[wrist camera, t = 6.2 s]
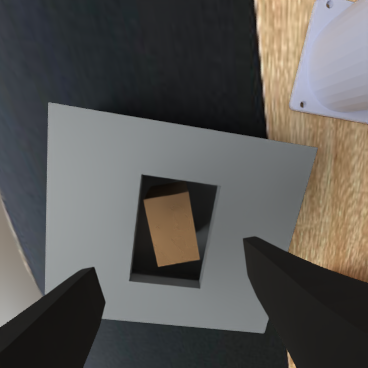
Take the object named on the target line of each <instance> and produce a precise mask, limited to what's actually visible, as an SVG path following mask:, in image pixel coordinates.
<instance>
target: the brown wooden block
mask: <svg viewBox="0 0 368 368" xmlns="http://www.w3.org/2000/svg"><path fill="white" fill-rule="evenodd" d="M143 201H144V205H145V210H146V215H147V219H148V224H149V228H150V233H151V237H152V242H153V246H154V251H155V255H156V260H157V264H158V267H160V266H165V265H171V264H177V263H182V262H188V261H194V260H199V259H200V258H199V252H198V246H197V240H196V234H195V228H194V222H193V216H192V210H191V204H190V198H189V192H188V188H187V185H186V181H179V182H173V183H167V184H162V185H156V186H151V187H150V188H149V190H148V192H147V194H146V196H145V198H144V199H143Z"/></svg>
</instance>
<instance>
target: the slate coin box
mask: <svg viewBox="0 0 368 368" xmlns="http://www.w3.org/2000/svg"><path fill="white" fill-rule="evenodd" d="M317 149H318V148H316V147H310V146H304V145H298V144H292V143H286V142H280V141H275V140H269V139H263V138H257V137H251V136H245V135H239V134H233V133H227V132H221V131H215V130H209V129H203V128H197V127H191V126H185V125H179V124H173V123H167V122H162V121H156V120H150V119H144V118H138V117H132V116H126V115H120V114H114V113H108V112H102V111H96V110H90V109H84V108H78V107H72V106H66V105H60V104H54V103H49V102H48V157H47V212H46V268H45V295H46V294H47V293H49V292H50V291H51V290H53V289H54V288H55V287H57V286H58V285H59V284H61V283H62V282H63V281H65V280H66V279H67V278H69V277H70V276H72V275H73V274H75V273H76V272H78V271H79V270H81V269H84V268H90V267H95V270H96V273H97V276H98V280H99V283H100V286H101V289H102V292H103V295H104V298H105V302H106V304H105V308H104V312H103V316H102V319H112V320H123V321H135V322H146V323H157V324H168V325H179V326H190V327H201V328H213V329H224V330H235V331H246V332H257V333H264V332H265V329H266V325H267V322H268V318H269V317H268V316H267V314H266V312H265V310H264V309H263V307H262V305H261V303H260V302H259V300H258V298H257V296H256V294H255V292H254V290H253V287H252V285H251V283H250V280H249V278H248V276H247V268H246V261H245V253H244V245H243V238H247V237H253V236H256V237H259V238H261V239H263V240H265V241H267V242H269V243H271V244H273V245H275V246H277V247H279V248H281V249H283V250H285V251H287V252H288V249H289V246H290V242H291V239H292V235H293V232H294V229H295V225H296V222H297V218H298V215H299V211H300V208H301V204H302V201H303V197H304V194H305V191H306V187H307V184H308V180H309V177H310V173H311V170H312V166H313V163H314V160H315V156H316V153H317ZM179 181H186V185H187V188H188V192H189V198H190V204H191V210H192V216H193V222H194V228H195V234H196V240H197V246H198V252H199V258H200V259H199V260H194V261H188V262H182V263H177V264H171V265H165V266H160V267H158V264H157V260H156V255H155V251H154V246H153V242H152V237H151V233H150V228H149V224H148V219H147V215H146V210H145V205H144V201H143V199H144V198H145V196H146V194H147V192H148V190H149V188H150V187H151V186H156V185H162V184H167V183H173V182H179Z"/></svg>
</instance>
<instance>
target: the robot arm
mask: <svg viewBox="0 0 368 368" xmlns="http://www.w3.org/2000/svg"><path fill="white" fill-rule="evenodd" d="M326 4H328V5H329V8H327V6H326ZM301 102H302V103H303V108H302V107H301V106H300V103H301ZM289 107H290V109H291V110H293V111H299V112H304V113H310V114H315V115H321V116H326V117H332V118H337V119H343V120H348V121H354V122H359V123H365V124H368V0H357V1H356V2H351V1H347V0H316V1H315V3H314V6H313V10H312V14H311V18H310V22H309V26H308V30H307V34H306V38H305V42H304V46H303V50H302V54H301V58H300V62H299V66H298V70H297V74H296V78H295V82H294V86H293V90H292V94H291V98H290V102H289ZM243 245H244V253H245V261H246V268H247V276H248V278H249V280H250V283H251V285H252V287H253V290H254V292H255V294H256V296H257V298H258V300H259V302H260V303H261V305H262V307H263V309H264V310H265V312H266V314H267V316H268V317H269V319H270V321H271V322H272V324H273V326H274V328H275V329H276V331H277V333H278V335H279V336H280V338H281V340H282V341H283V343H284V345H285V347H286V348H287V350H288V352H289V354H290V356H291V358H292V360H293V362H294V364H295V366H296V368H368V283H367V282H363V281H360V280H357V279H354V278H351V277H348V276H345V275H342V274H339V273H337V272H334V271H331V270H328V269H326V268H323V267H320V266H318V265H316V264H313V263H311V262H309V261H306V260H304V259H302V258H299V257H297V256H295V255H293V254H291V253H289V252H287V251H285V250H283V249H281V248H279V247H277V246H275V245H273V244H271V243H269V242H267V241H265V240H263V239H261V238H259V237H256V236H253V237H247V238H243ZM105 304H106V302H105V298H104V295H103V292H102V289H101V286H100V283H99V280H98V276H97V273H96V270H95V267H90V268H84V269H81V270H79V271H78V272H76V273H75V274H73V275H72V276H70V277H69V278H67V279H66V280H65V281H63V282H62V283H61V284H59V285H58V286H57V287H55V288H54V289H53V290H51V291H50V292H49V293H47V294H46V295H45V296H43V297H42V298H41V299H40V300H38V301H37V302H35V303H34V304H33V305H31V306H30V307H28V308H27V309H26V310H24V311H23V312H21V313H20V314H19V315H17V316H16V317H14V318H13V319H12V320H10V321H9V322H7V323H6V324H5V325H3V326H1V327H0V368H83V366H84V364H85V361H86V359H87V356H88V354H89V352H90V349H91V347H92V344H93V342H94V339H95V336H96V334H97V331H98V329H99V326H100V323H101V319H102V316H103V312H104V308H105Z"/></svg>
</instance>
